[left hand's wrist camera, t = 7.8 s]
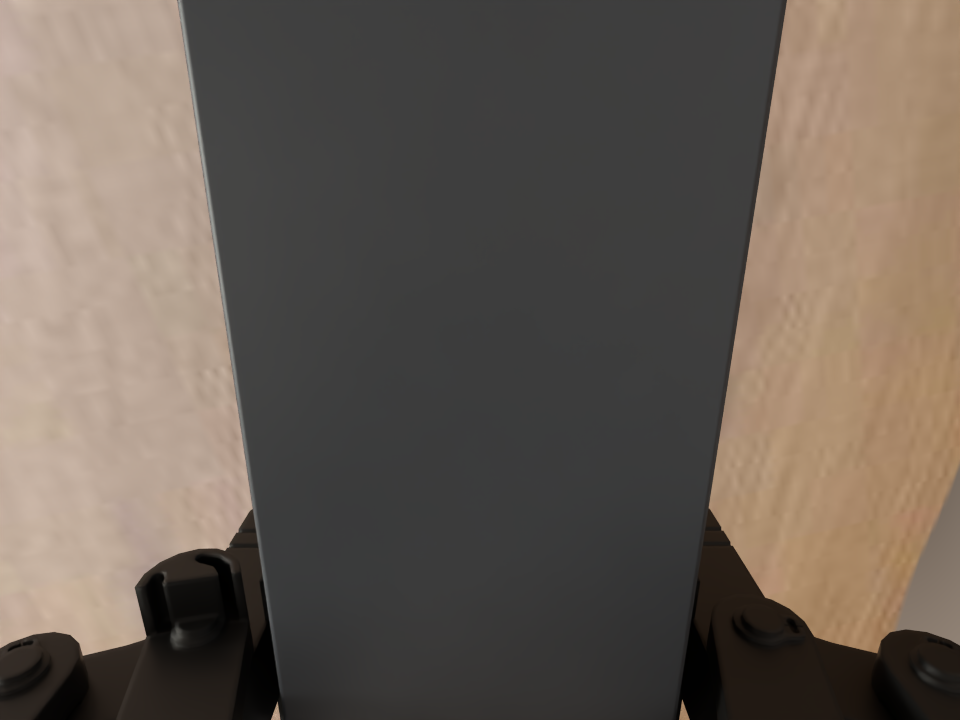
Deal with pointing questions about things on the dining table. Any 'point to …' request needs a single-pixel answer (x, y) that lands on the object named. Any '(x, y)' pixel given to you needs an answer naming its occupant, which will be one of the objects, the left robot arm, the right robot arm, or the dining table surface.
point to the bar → (481, 333)
